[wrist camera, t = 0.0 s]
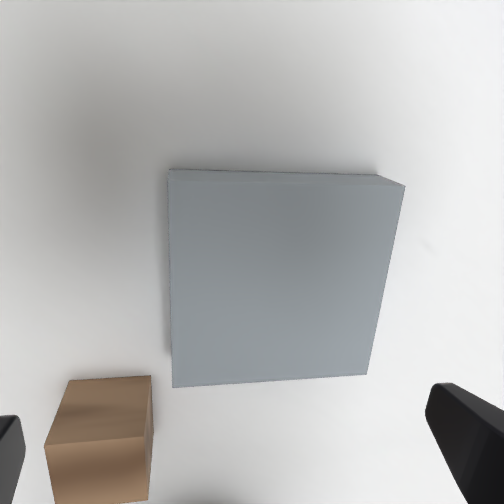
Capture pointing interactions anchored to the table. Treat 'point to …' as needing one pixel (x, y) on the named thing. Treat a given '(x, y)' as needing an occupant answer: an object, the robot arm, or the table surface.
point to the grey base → (276, 273)
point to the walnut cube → (102, 442)
